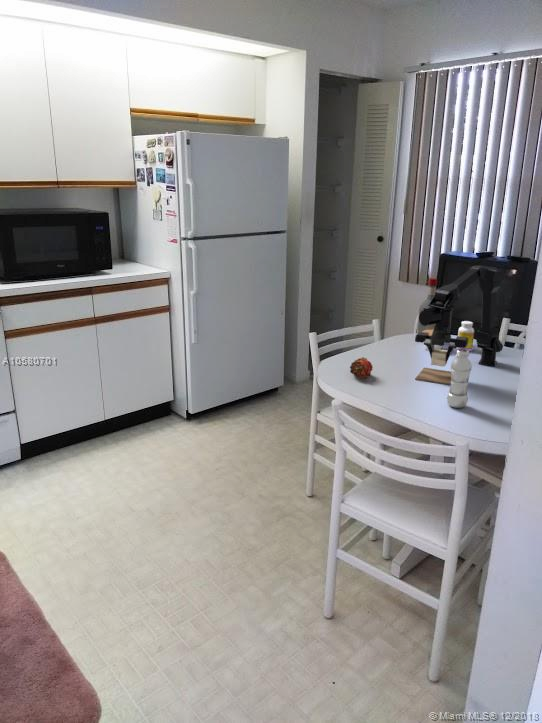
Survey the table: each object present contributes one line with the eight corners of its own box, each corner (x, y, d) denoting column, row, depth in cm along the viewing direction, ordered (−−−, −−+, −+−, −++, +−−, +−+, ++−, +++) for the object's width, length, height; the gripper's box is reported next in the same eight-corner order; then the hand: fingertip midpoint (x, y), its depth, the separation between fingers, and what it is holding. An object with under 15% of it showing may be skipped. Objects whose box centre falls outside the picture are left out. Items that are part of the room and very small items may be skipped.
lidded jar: (416, 346, 246) (417, 327, 243) (437, 344, 248) (438, 325, 245) (428, 353, 236) (429, 333, 233) (449, 351, 238) (451, 331, 235)
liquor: (441, 341, 253) (447, 279, 243) (428, 344, 249) (433, 281, 239) (427, 337, 260) (432, 276, 251) (413, 340, 256) (418, 278, 246)
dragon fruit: (358, 386, 204) (359, 379, 215) (377, 374, 202) (376, 368, 213) (345, 368, 203) (347, 362, 215) (364, 356, 201) (365, 351, 213)
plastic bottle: (443, 403, 184) (448, 348, 177) (462, 402, 184) (468, 347, 178) (450, 410, 178) (456, 353, 171) (470, 409, 178) (477, 353, 172)
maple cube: (433, 360, 209) (435, 348, 208) (446, 362, 207) (448, 350, 205) (431, 364, 205) (432, 352, 204) (444, 366, 203) (445, 354, 201)
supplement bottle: (473, 352, 237) (476, 324, 233) (457, 351, 238) (460, 323, 234) (470, 347, 243) (473, 320, 239) (455, 347, 244) (458, 320, 240)
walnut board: (423, 368, 217) (424, 367, 217) (459, 374, 210) (459, 372, 210) (415, 379, 205) (415, 378, 205) (452, 385, 199) (452, 384, 199)
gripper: (412, 324, 198) (409, 363, 203) (464, 329, 190) (460, 370, 195) (420, 317, 208) (417, 355, 213) (470, 322, 199) (465, 361, 204)
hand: (439, 360), depth 206 cm, fingers closed on maple cube, 5 cm apart
